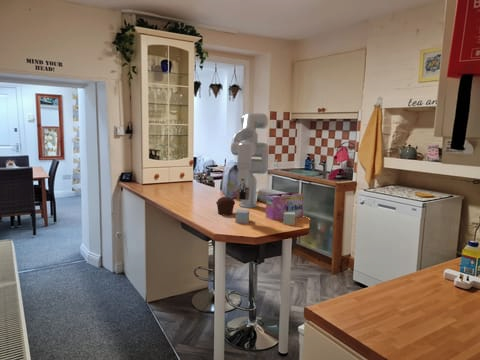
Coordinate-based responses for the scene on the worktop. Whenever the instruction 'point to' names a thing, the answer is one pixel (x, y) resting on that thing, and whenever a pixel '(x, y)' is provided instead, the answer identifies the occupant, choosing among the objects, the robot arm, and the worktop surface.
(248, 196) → the walnut block
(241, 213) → the base block
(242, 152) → the robot arm
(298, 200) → the gum box
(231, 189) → the lunch bag
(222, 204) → the muffin
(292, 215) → the sage block
